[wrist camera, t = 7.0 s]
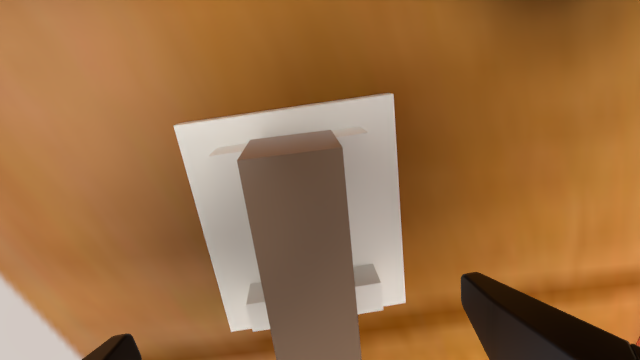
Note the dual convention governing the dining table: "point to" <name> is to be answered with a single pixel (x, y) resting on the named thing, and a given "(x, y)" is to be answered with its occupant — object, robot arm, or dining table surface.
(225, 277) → the display rest
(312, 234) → the gray cuboid brick
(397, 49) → the dining table surface
